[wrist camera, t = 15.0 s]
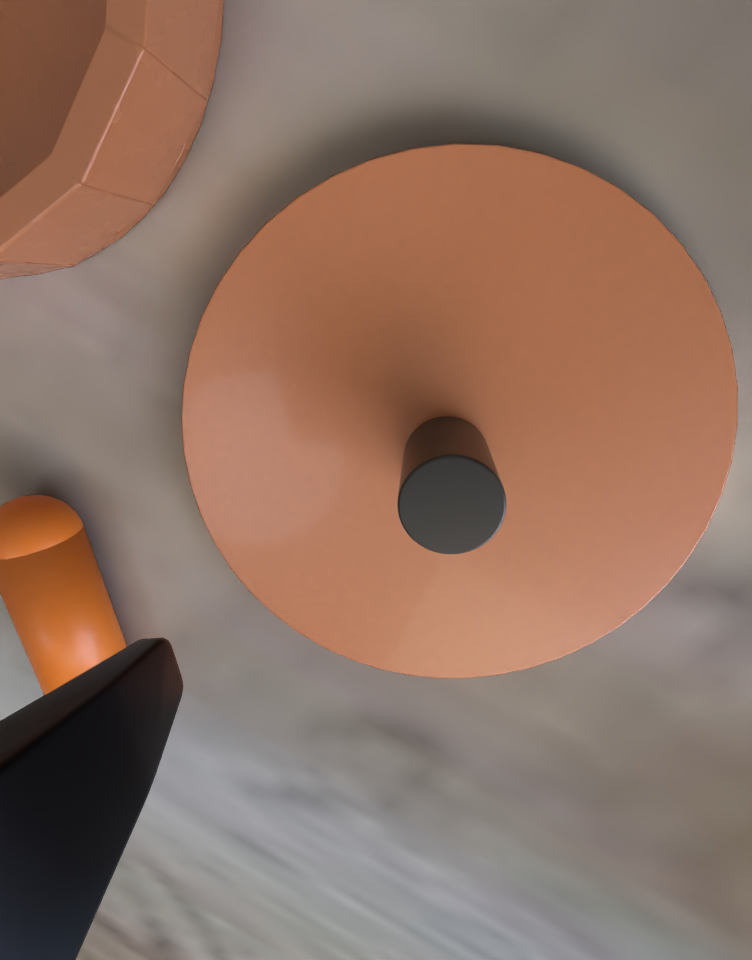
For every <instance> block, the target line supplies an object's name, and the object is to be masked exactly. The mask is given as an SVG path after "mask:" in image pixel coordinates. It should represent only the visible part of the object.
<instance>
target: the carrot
mask: <svg viewBox="0 0 752 960" xmlns="http://www.w3.org/2000/svg"><path fill="white" fill-rule="evenodd" d="M0 594H1V596H2V598H3V601H4V603H5V605H6V608H7V610H8V612H9V615H10V617H11V619H12V622H13V624H14V626H15V628H16V631H17V633H18V635H19V638H20V640H21V642H22V645H23V647H24V649H25V652H26V654H27V656H28V658H29V661H30V663H31V665H32V668H33V670H34V672H35V675H36V677H37V679H38V682H39V684H40V686H41V689H42V691H43V693H44V695H46V694H47V693H49V692H51V691H53V690H54V689H56V688H58V687H59V686H61V685H63V684H65V683H66V682H68V681H70V680H71V679H73V678H75V677H77V676H78V675H80V674H82V673H83V672H85V671H87V670H88V669H90V668H92V667H94V666H95V665H97V664H99V663H100V662H102V661H104V660H106V659H107V658H109V657H111V656H112V655H114V654H116V653H118V652H119V651H121V650H123V649H124V648H126V647H127V646H126V643H125V640H124V637H123V634H122V632H121V629H120V626H119V623H118V620H117V618H116V615H115V612H114V609H113V607H112V604H111V601H110V598H109V595H108V593H107V590H106V587H105V584H104V581H103V579H102V576H101V573H100V570H99V567H98V565H97V562H96V559H95V556H94V553H93V551H92V548H91V545H90V542H89V539H88V537H87V534H86V531H85V528H84V525H83V523H82V521H81V519H80V517H79V516H78V514H77V513H76V512H75V511H74V509H73V508H71V507H70V506H69V505H68V504H66V503H65V502H63V501H61V500H59V499H56V498H53V497H50V496H44V495H28V496H22V497H18V498H15V499H13V500H11V501H9V502H7V503H5V504H3V505H2V506H0Z"/></svg>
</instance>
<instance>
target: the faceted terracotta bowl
mask: <svg viewBox="0 0 752 960" xmlns="http://www.w3.org/2000/svg"><path fill="white" fill-rule="evenodd" d="M223 6H224V0H0V279H4V278H10V277H17V276H28V275H38V274H42V273H46V272H50V271H53V270H57V269H62V268H68V267H73V266H75V265H77V264H78V263H79V262H81V261H82V260H84V259H86V258H89V257H91V256H93V255H95V254H97V253H98V252H100V251H101V250H103V249H105V248H106V247H108V246H109V245H111V244H112V243H114V242H115V241H117V240H118V239H120V238H121V237H122V236H124V235H125V234H126V233H127V232H128V231H129V230H130V229H131V228H132V227H134V226H135V225H136V224H137V223H138V222H139V221H140V220H141V219H142V218H144V217H145V216H146V214H147V213H148V212H149V211H150V210H151V208H152V207H153V206H154V205H155V203H156V202H157V201H158V200H159V199H160V197H161V196H162V195H163V194H164V192H165V191H166V190H167V189H168V187H169V185H170V184H171V182H172V180H173V179H174V177H175V175H176V174H177V172H178V170H179V169H180V167H181V166H182V164H183V162H184V161H185V159H186V157H187V155H188V152H189V150H190V148H191V145H192V143H193V141H194V139H195V136H196V134H197V132H198V129H199V127H200V125H201V123H202V119H203V116H204V113H205V109H206V106H207V103H208V99H209V96H210V92H211V89H212V86H213V82H214V77H215V71H216V65H217V60H218V54H219V48H220V43H221V36H222V21H223Z"/></svg>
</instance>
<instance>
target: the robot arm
mask: <svg viewBox="0 0 752 960" xmlns="http://www.w3.org/2000/svg"><path fill="white" fill-rule="evenodd" d="M182 691H183V681H182V677H181V674H180V670H179V667H178V664H177V661H176V658H175V655H174V652H173V649H172V646H171V644H170V642H169V641H168V640H167V639H165V638H150V639H141V640H138V641H136V642H135V643H133V644H131V645H130V646H128V647H126V648H124V649H123V650H121V651H119V652H118V653H116V654H114V655H112V656H111V657H109V658H107V659H106V660H104V661H102V662H100V663H99V664H97V665H95V666H94V667H92V668H90V669H88V670H87V671H85V672H83V673H82V674H80V675H78V676H77V677H75V678H73V679H71V680H70V681H68V682H66V683H65V684H63V685H61V686H59V687H58V688H56V689H54V690H53V691H51V692H49V693H47V694H46V695H44V696H42V697H41V698H39V699H37V700H35V701H34V702H32V703H30V704H29V705H27V706H25V707H24V708H22V709H20V710H18V711H17V712H15V713H13V714H12V715H10V716H8V717H6V718H5V719H3V720H1V721H0V960H76V957H77V955H78V953H79V950H80V948H81V946H82V944H83V941H84V939H85V937H86V935H87V932H88V930H89V928H90V926H91V923H92V921H93V919H94V916H95V914H96V912H97V910H98V907H99V905H100V903H101V901H102V898H103V896H104V894H105V892H106V889H107V887H108V885H109V883H110V880H111V878H112V876H113V873H114V871H115V869H116V867H117V864H118V862H119V860H120V858H121V855H122V853H123V851H124V849H125V846H126V844H127V842H128V839H129V837H130V835H131V833H132V830H133V828H134V826H135V824H136V821H137V819H138V817H139V815H140V812H141V810H142V808H143V805H144V803H145V801H146V798H147V796H148V793H149V791H150V788H151V785H152V783H153V780H154V777H155V775H156V772H157V769H158V766H159V763H160V760H161V757H162V754H163V751H164V748H165V745H166V742H167V739H168V736H169V733H170V730H171V727H172V724H173V721H174V718H175V715H176V712H177V709H178V706H179V703H180V700H181V696H182Z"/></svg>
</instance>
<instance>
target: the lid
mask: <svg viewBox="0 0 752 960" xmlns="http://www.w3.org/2000/svg"><path fill="white" fill-rule="evenodd" d="M737 403H738V387H737V380H736V373H735V366H734V359H733V352H732V347H731V344H730V341H729V337H728V334H727V331H726V327H725V324H724V321H723V317H722V314H721V311H720V309H719V307H718V305H717V303H716V301H715V299H714V297H713V294H712V292H711V290H710V288H709V286H708V284H707V282H706V280H705V278H704V276H703V274H702V273H701V272H700V270H699V269H698V267H697V266H696V264H695V263H694V261H693V260H692V258H691V257H690V256H689V254H688V253H687V251H686V250H685V248H684V247H683V245H682V244H681V243H680V242H679V241H678V239H677V238H676V237H675V236H674V235H673V234H672V233H671V232H670V231H669V230H668V229H667V228H666V227H665V226H664V225H663V224H662V223H661V222H660V221H659V219H658V218H657V217H656V216H655V215H654V214H653V213H652V212H650V211H649V210H648V209H646V208H645V207H644V206H642V205H641V204H640V203H639V202H637V201H636V200H635V199H633V198H632V197H631V196H629V195H628V194H627V193H625V192H624V191H623V190H622V189H620V188H619V187H617V186H615V185H613V184H611V183H610V182H608V181H606V180H604V179H602V178H600V177H599V176H597V175H595V174H593V173H591V172H589V171H587V170H586V169H584V168H582V167H579V166H576V165H574V164H571V163H568V162H565V161H562V160H559V159H557V158H554V157H551V156H548V155H545V154H543V153H538V152H533V151H528V150H523V149H517V148H512V147H507V146H502V145H486V144H459V143H455V144H446V145H437V146H428V147H419V148H412V149H408V150H404V151H400V152H397V153H393V154H389V155H385V156H382V157H378V158H374V159H371V160H368V161H366V162H364V163H361V164H359V165H357V166H354V167H352V168H350V169H347V170H345V171H343V172H340V173H338V174H336V175H333V176H332V177H330V178H328V179H327V180H325V181H323V182H322V183H320V184H318V185H317V186H315V187H314V188H312V189H310V190H309V191H307V192H305V193H304V194H302V195H300V196H299V197H297V198H296V199H295V200H294V201H292V202H291V203H290V204H289V205H288V206H286V207H285V208H284V209H283V210H282V211H280V212H279V213H278V214H277V215H275V216H274V217H273V218H272V219H271V220H269V221H268V222H267V223H266V224H265V225H264V226H263V227H262V228H261V229H260V231H259V232H258V233H257V234H256V235H255V236H254V237H253V238H252V239H251V240H250V242H249V243H248V244H247V245H246V246H245V247H244V248H243V249H242V250H241V251H240V253H239V254H238V256H237V257H236V258H235V260H234V261H233V263H232V264H231V266H230V267H229V269H228V270H227V272H226V273H225V275H224V276H223V277H222V279H221V280H220V282H219V283H218V285H217V287H216V289H215V291H214V293H213V295H212V297H211V299H210V301H209V303H208V305H207V307H206V309H205V311H204V313H203V315H202V317H201V320H200V323H199V326H198V329H197V332H196V335H195V338H194V341H193V344H192V347H191V350H190V355H189V360H188V365H187V370H186V375H185V381H184V386H183V404H182V432H183V446H184V455H185V460H186V465H187V470H188V475H189V479H190V484H191V488H192V490H193V493H194V496H195V499H196V502H197V505H198V508H199V511H200V514H201V516H202V518H203V520H204V522H205V524H206V526H207V528H208V531H209V533H210V535H211V537H212V539H213V541H214V543H215V544H216V546H217V548H218V549H219V551H220V552H221V554H222V555H223V557H224V558H225V560H226V561H227V563H228V564H229V566H230V568H231V569H232V570H233V572H234V573H235V574H236V575H237V576H238V578H239V579H240V580H241V581H242V582H243V584H244V585H245V586H246V587H247V588H248V590H249V591H250V592H251V593H252V594H253V595H254V596H255V597H256V598H257V599H258V600H259V601H260V602H261V603H263V604H264V605H265V606H266V607H267V608H268V609H269V610H270V611H271V612H272V613H273V614H274V615H276V616H277V617H278V618H280V619H281V620H282V621H284V622H285V623H286V624H288V625H289V626H290V627H292V628H293V629H294V630H296V631H297V632H299V633H300V634H302V635H304V636H305V637H307V638H309V639H310V640H312V641H314V642H316V643H317V644H319V645H321V646H322V647H324V648H327V649H329V650H331V651H333V652H335V653H338V654H340V655H342V656H344V657H346V658H349V659H351V660H354V661H357V662H360V663H363V664H366V665H369V666H373V667H376V668H379V669H383V670H388V671H393V672H397V673H402V674H407V675H415V676H425V677H434V678H473V677H482V676H491V675H500V674H505V673H509V672H514V671H518V670H523V669H527V668H531V667H534V666H537V665H540V664H543V663H546V662H549V661H552V660H555V659H558V658H561V657H563V656H565V655H568V654H570V653H572V652H574V651H576V650H578V649H581V648H583V647H585V646H587V645H589V644H591V643H593V642H594V641H596V640H598V639H599V638H601V637H603V636H604V635H606V634H608V633H609V632H611V631H612V630H614V629H616V628H617V627H619V626H620V625H621V624H623V623H624V622H625V621H627V620H628V619H629V618H630V617H632V616H633V615H634V614H636V613H637V612H638V611H639V610H641V609H642V608H643V607H644V606H646V605H647V604H648V603H649V602H650V601H651V600H652V599H653V598H654V597H655V596H656V595H657V594H658V593H659V592H660V591H661V590H662V589H663V588H664V587H665V586H666V585H667V584H668V583H669V582H670V580H671V579H672V578H673V577H674V575H675V574H676V573H677V572H678V570H679V569H680V568H681V567H682V565H683V564H684V563H685V562H686V560H687V559H688V558H689V556H690V555H691V553H692V552H693V550H694V548H695V547H696V545H697V543H698V542H699V540H700V538H701V537H702V535H703V534H704V532H705V530H706V529H707V527H708V525H709V523H710V520H711V518H712V516H713V514H714V511H715V509H716V507H717V505H718V502H719V500H720V498H721V496H722V493H723V489H724V486H725V483H726V479H727V476H728V472H729V469H730V466H731V462H732V457H733V450H734V444H735V437H736V430H737Z"/></svg>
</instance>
